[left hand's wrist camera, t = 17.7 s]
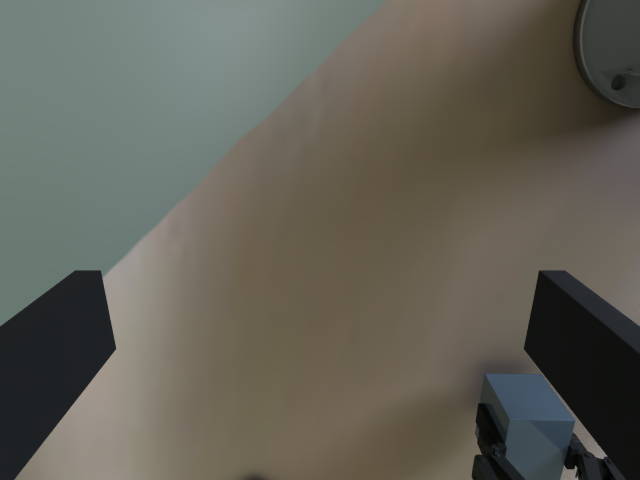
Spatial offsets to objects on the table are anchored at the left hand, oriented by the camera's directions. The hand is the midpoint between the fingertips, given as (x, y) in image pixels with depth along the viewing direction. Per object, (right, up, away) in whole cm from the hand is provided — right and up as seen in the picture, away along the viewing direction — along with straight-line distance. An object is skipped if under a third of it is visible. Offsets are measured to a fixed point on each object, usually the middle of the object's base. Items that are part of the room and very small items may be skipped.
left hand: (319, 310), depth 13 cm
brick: (+23, -18, +38) cm, 48 cm away
